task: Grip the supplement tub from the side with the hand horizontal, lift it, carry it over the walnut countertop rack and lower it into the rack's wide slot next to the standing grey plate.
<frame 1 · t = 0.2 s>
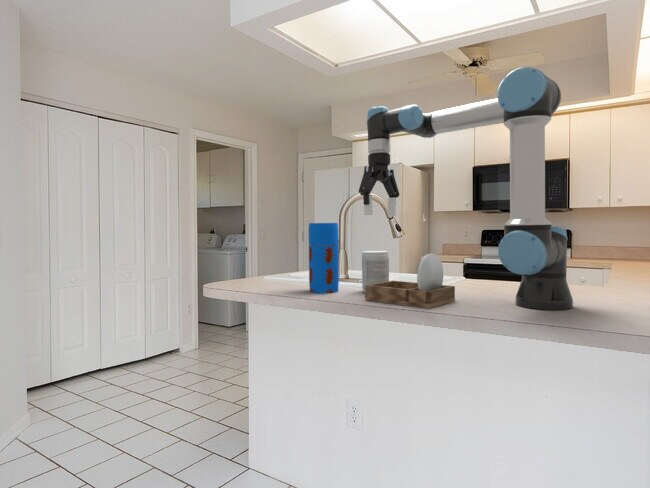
hand: (380, 215, 153), 27 cm above the countertop, tool pointing down, fingers open, 13 cm apart
rack: (409, 300, 142), on the countertop
plate: (430, 303, 137), resting on rack
supplement tub: (375, 292, 161), on the countertop
thermos: (324, 291, 164), on the countertop
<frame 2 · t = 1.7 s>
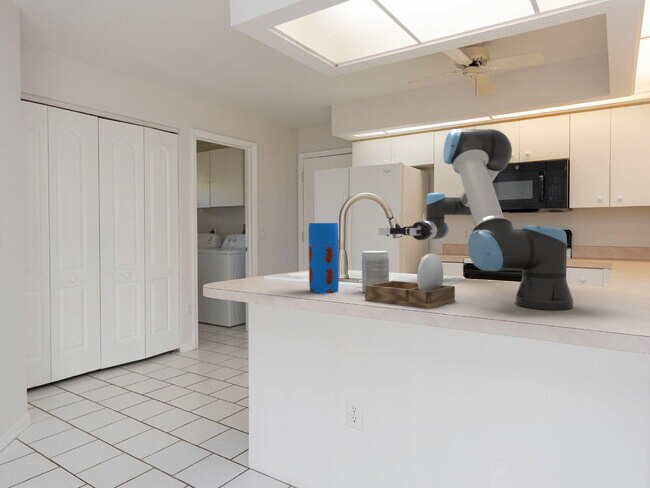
hand: (394, 231, 166), 21 cm above the countertop, tool horizontal, fingers open, 13 cm apart
nothing on the countertop moved.
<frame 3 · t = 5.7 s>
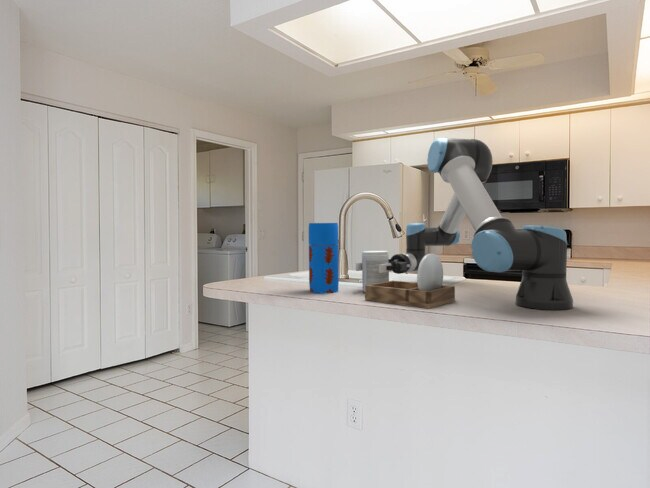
hand: (368, 267, 157), 9 cm above the countertop, tool horizontal, fingers closed on supplement tub, 9 cm apart
supplement tub: (375, 292, 161), on the countertop, touching gripper
everything else where it was.
when the fingers open (12 cm above the countertop, at t = 10.6 s): supplement tub drops 1 cm, resting on rack.
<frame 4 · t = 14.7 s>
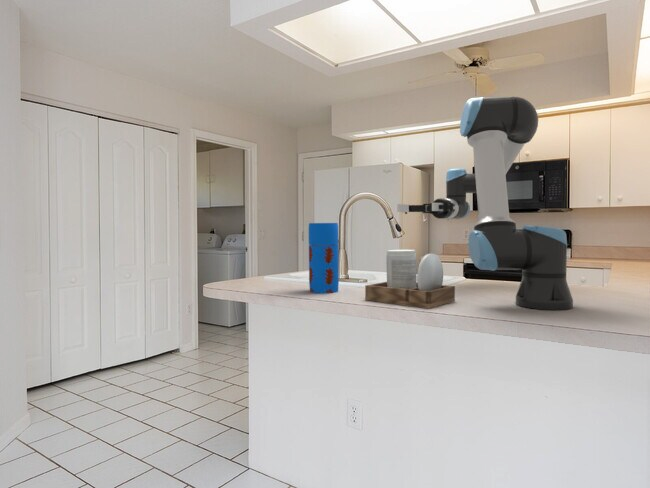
hand: (414, 207, 153), 30 cm above the countertop, tool horizontal, fingers open, 13 cm apart
supplement tub: (401, 295, 145), point 1 cm above the countertop, touching rack
everything else where it was.
at the end: supplement tub inside the target area on the rack (1.1 cm from its centre), point 1.0 cm above the rack's base; supplement tub tilted 0°; the gripper is holding nothing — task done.
